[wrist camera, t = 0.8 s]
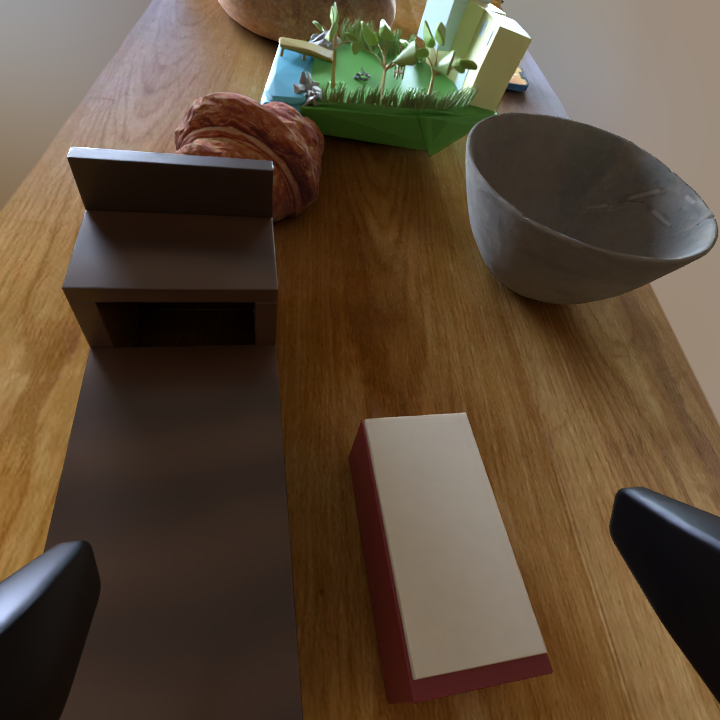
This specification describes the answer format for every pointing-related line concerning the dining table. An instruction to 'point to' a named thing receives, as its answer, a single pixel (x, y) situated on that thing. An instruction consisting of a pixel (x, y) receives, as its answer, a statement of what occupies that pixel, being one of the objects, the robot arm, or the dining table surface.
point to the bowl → (577, 209)
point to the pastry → (258, 143)
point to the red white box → (439, 562)
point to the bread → (306, 16)
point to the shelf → (179, 447)
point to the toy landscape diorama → (402, 75)
